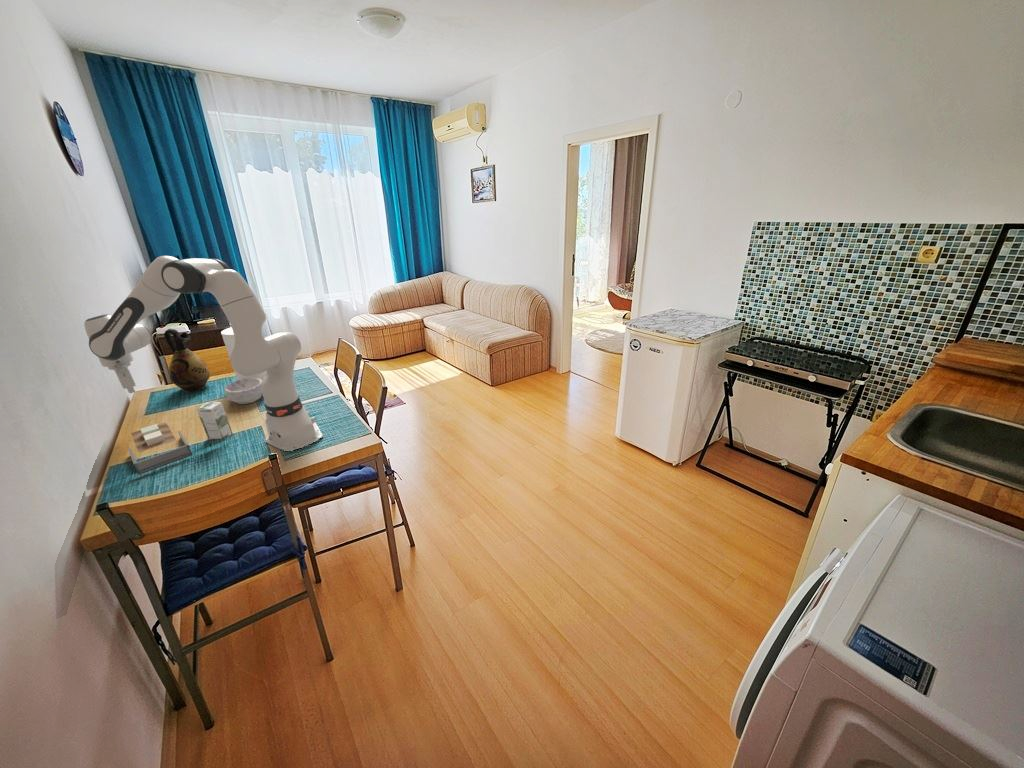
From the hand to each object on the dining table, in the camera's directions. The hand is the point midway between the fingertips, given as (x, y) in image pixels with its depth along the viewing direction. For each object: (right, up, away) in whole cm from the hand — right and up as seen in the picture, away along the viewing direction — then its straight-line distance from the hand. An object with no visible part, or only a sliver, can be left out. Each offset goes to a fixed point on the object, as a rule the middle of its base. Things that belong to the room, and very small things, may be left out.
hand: (131, 391), depth 156 cm
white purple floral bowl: (+25, -4, +31) cm, 40 cm away
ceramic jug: (-11, +1, +45) cm, 46 cm away
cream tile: (+11, -19, -3) cm, 22 cm away
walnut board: (+8, -19, +1) cm, 20 cm away
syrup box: (+34, -18, +1) cm, 39 cm away
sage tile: (+6, -17, +2) cm, 18 cm away
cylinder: (+19, +4, +49) cm, 53 cm away
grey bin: (+20, -23, -10) cm, 33 cm away
